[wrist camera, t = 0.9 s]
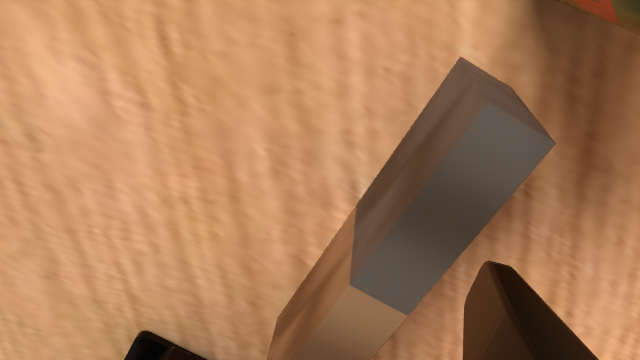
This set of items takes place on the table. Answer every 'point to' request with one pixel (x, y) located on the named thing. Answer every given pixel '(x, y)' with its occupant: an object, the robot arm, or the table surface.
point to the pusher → (414, 219)
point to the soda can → (612, 11)
